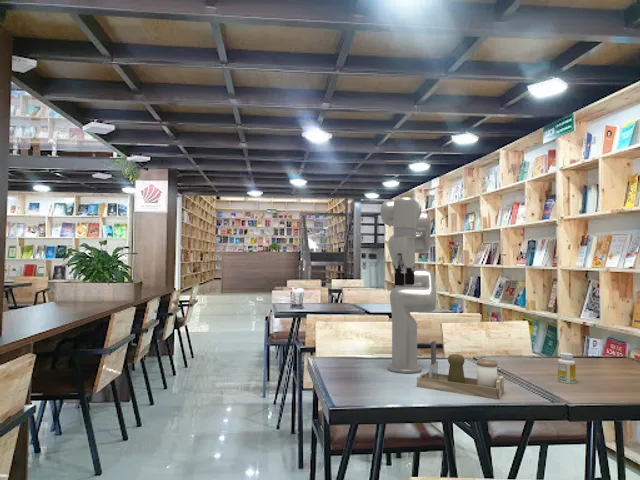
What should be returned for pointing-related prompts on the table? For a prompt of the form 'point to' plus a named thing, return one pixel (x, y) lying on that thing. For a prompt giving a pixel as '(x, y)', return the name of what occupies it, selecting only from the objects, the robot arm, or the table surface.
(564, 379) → the supplement bottle
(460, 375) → the olive brown waisted cylinder
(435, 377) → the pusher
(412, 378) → the table surface
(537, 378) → the table surface
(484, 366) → the jar
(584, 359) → the table surface
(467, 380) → the wooden tray
